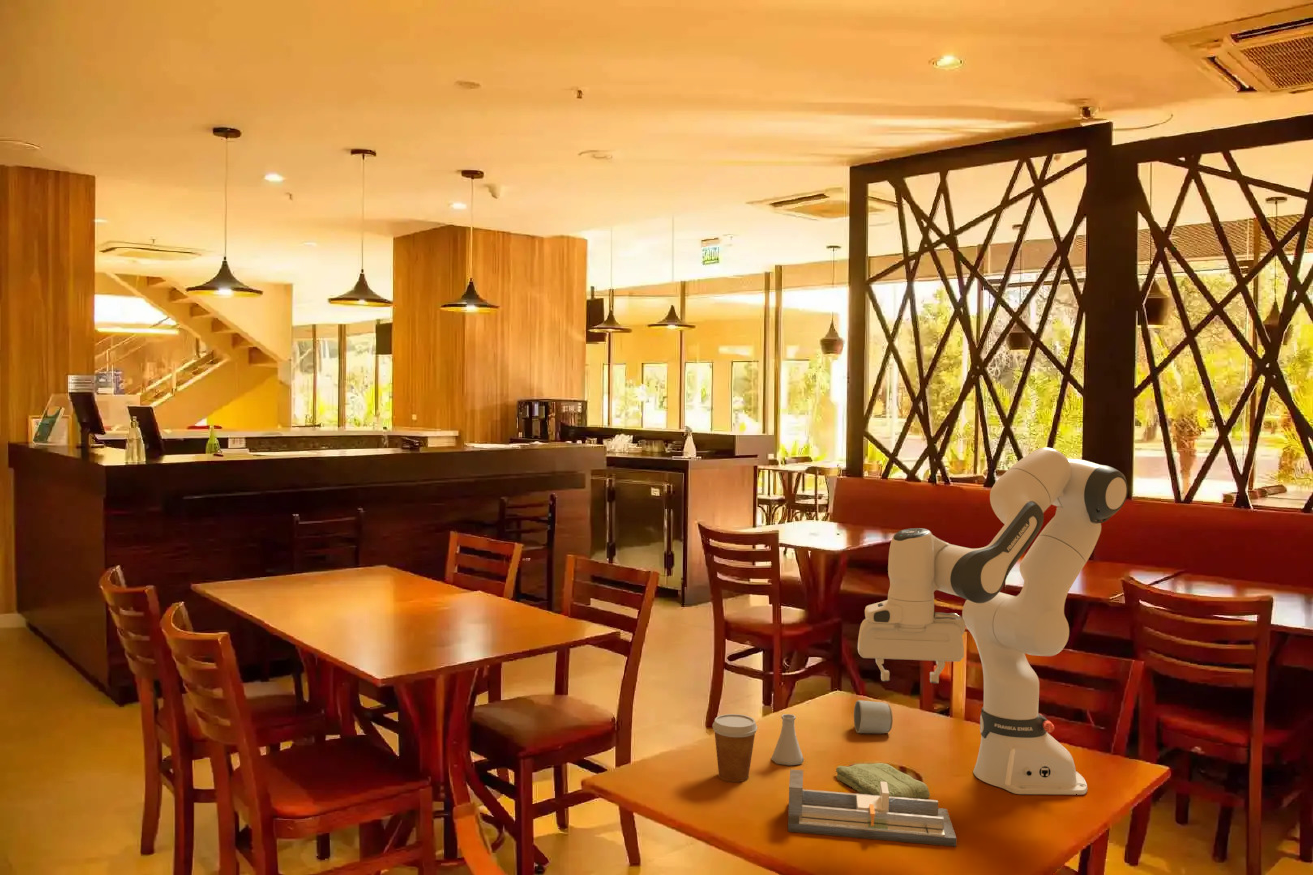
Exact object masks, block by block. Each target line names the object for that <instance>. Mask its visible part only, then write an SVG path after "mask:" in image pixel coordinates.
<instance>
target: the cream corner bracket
mask: <svg viewBox="0 0 1313 875" xmlns="http://www.w3.org/2000/svg"><path fill="white" fill-rule="evenodd" d="M856 810H867V811H870V816H871V826H874V817H875V811H879V812H889V791H888V786H887V782H881V781H880V796H868V795H856Z"/></svg>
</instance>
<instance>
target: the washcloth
mask: <svg viewBox="0 0 1313 875" xmlns="http://www.w3.org/2000/svg"><path fill="white" fill-rule="evenodd" d="M835 772H836V773H837V775H836V779H837V780H838V781H840V782H841V783H843V784H845V785H847V786H848V787H849V788H851V787H852V788H851V789H852V790H855V791H856V792H857V793H859V794H866V795H878V796H880V781H881V782H887V786H888V791H889V796H890V797H902V798H914V799H926V800H927V799H928V798H930V795H931V793H930V791H929V787H928V786H927V784H926V783H924V782H923V781H920V780H917V779H914V777H912V776H911V775H909V774H906V773H905V772H902V771H900V770H898V769H897V768H895V767H893V766H892V765H890V764H889V763H882V762H875V763H855V764H852V765H850V766H845V765H838V766H837V767H836V771H835Z"/></svg>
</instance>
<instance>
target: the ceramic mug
mask: <svg viewBox="0 0 1313 875" xmlns="http://www.w3.org/2000/svg"><path fill="white" fill-rule="evenodd" d="M893 717H894V716H893V710H892V707H891V705H890V704H888V703H885V702H882V701H872V700H871V701H870V700H861V699H858V700H856V702H855V704H854V708H853V724H854V725H853V726H854V729H855V731H856V733H857V734H887V733H890V732H891V730H892V728H893V721H894V718H893Z"/></svg>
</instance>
